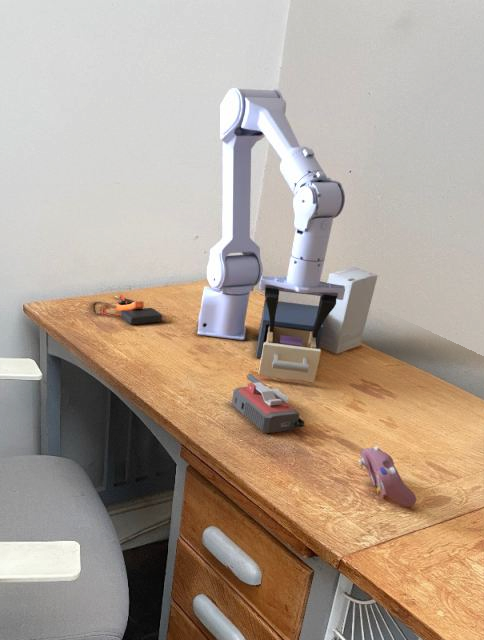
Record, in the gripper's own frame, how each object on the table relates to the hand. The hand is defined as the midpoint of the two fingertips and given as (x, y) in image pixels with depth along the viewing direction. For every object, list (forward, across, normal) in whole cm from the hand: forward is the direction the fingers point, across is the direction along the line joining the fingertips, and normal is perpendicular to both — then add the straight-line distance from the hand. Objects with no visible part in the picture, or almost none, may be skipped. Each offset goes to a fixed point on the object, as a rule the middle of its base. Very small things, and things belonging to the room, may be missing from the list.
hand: (292, 333), depth 141 cm
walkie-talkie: (+7, -4, -18) cm, 20 cm away
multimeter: (+8, -35, +22) cm, 42 cm away
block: (+5, 0, 0) cm, 5 cm away
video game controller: (+7, +14, -40) cm, 43 cm away
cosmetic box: (+8, +10, +17) cm, 21 cm away
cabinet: (+7, 0, +11) cm, 13 cm away
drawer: (+6, 0, -3) cm, 7 cm away
